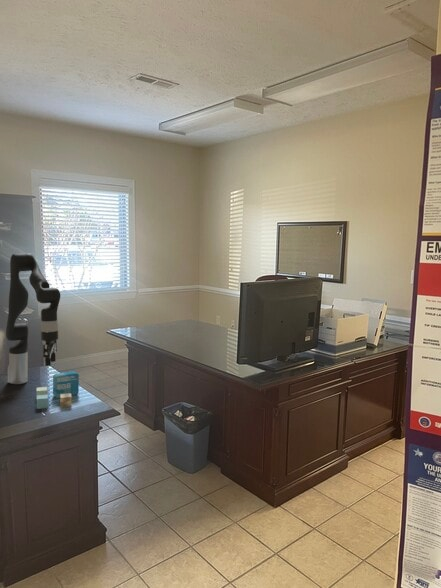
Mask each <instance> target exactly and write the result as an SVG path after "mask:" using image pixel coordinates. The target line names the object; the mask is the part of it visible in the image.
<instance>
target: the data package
mask: <svg viewBox="0 0 441 588" xmlns="http://www.w3.org/2000/svg"><path fill="white" fill-rule="evenodd" d="M79 378H80V375H79V373H77V372H76V371H75V370H73V371H64V372H58V373H54V374H53V376H52V394H53V396H54V397H55V399H56V398H57V399H60V394H68V393H71V397H73V396H77V395H78V394H79V392H80V391H79V388H80V384H79V383H80V379H79Z"/></svg>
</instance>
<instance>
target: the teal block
mask: <svg viewBox="0 0 441 588" xmlns="http://www.w3.org/2000/svg"><path fill="white" fill-rule="evenodd" d="M48 407H49V395H48V394H47V395H37V400H36V410H42V409H48Z"/></svg>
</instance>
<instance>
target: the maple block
mask: <svg viewBox="0 0 441 588" xmlns="http://www.w3.org/2000/svg"><path fill="white" fill-rule="evenodd" d="M59 404H60V405H59V406H60V408H68V407H72V396H71V393H68V394H60V398H59Z"/></svg>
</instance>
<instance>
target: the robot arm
mask: <svg viewBox="0 0 441 588" xmlns="http://www.w3.org/2000/svg"><path fill="white" fill-rule="evenodd" d="M9 268H10V269H9V270H10V271H9V275H10V282H9V283H10V284H9V294H8V312H7V313H8V315H7V321H6V322H7V323H6V329H5V337H6V339H7V341H8V342H9V341H10V342H11V341H12V342H13V341H19V342H18V343H16V344H13V345H11V346H10V347H9V351H8V356H9V357H8V358H9V359H8V360H9V361H8V363H9V364H8V365H7V383H8V384H10V385H23V384H26V383H27V382H28V362H29V361H28V352H29V351H28V348H29V347H28V345H29V343H28V342H29V341H28V339H29V326H28V324H27V323H25V322H20V323H16V321H17V320H18V318H19V316H20V315H21V314H22V313H23V312H24V311H25V309H26V308H27V307H28V303H29V291H28V289H27V288H26V286H25V285H24V284H23V282H22V280H21V279H20V272H30V271H31V273H30V276H29V283H30V285H31V287H32V288H33V290H34V292H35V296H36V297H35V298H36V300H37V303H40V304H49V306H47V307H45V308H41V311H40V318H41V321H40V337H41V341H43V342H45V344H43V345H42V353H43V355H42V356H43V358H44V359H45V360H44V361H45V362H44V364H45V366H46V367H49V366H51V365H52V363H54V362H56V361H57V357H56V354H57V352H58V345H57V344H58V343H57V340H59V324H58V309H59V303H60V302H61V301H60V300H61V292H60V290H59V289H58V288H57V287H51V285H50V283H49V282H48V280H47V279H46V278H45V276H44V275H43V273H42V271H41V268H40V267H39V264H38V262H37V260H36V258H35V256H34V255H33V254H32V253H29V252H25V253H23V252H21V253H20V252H19V253H12V254H11V255H10V260H9Z"/></svg>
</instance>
